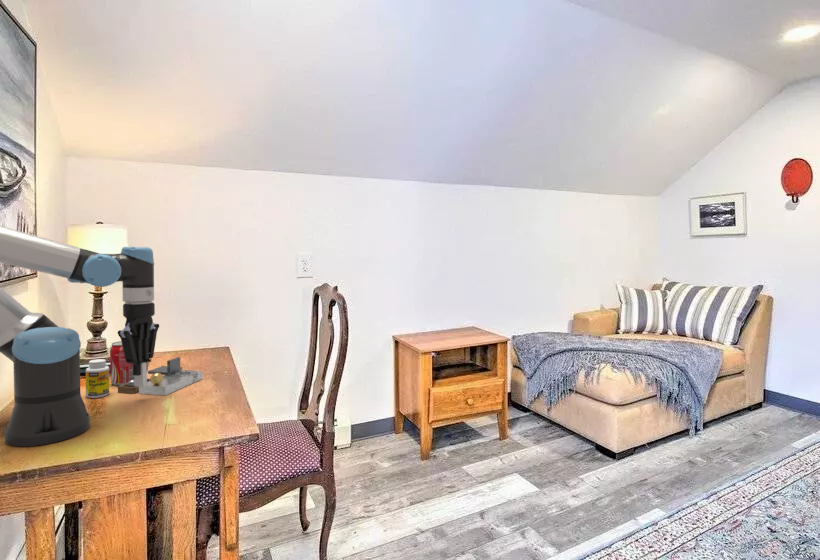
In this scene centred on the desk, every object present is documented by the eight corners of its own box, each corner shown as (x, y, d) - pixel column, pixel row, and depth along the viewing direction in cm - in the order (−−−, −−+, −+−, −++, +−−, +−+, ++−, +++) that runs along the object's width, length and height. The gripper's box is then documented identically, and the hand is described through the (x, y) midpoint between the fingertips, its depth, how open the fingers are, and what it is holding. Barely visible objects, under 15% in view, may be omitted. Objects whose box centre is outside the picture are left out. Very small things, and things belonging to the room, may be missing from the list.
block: (165, 395, 129) (165, 387, 128) (138, 393, 130) (138, 385, 130) (203, 378, 147) (202, 371, 146) (179, 376, 148) (179, 369, 148)
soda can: (142, 380, 142) (142, 340, 142) (126, 387, 135) (125, 345, 135) (122, 379, 143) (121, 339, 142) (104, 386, 136) (104, 344, 135)
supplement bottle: (85, 399, 123) (84, 363, 123) (86, 394, 128) (86, 359, 127) (109, 396, 126) (109, 361, 126) (109, 391, 131) (109, 357, 130)
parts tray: (134, 393, 129) (134, 387, 129) (117, 392, 130) (117, 386, 130) (156, 385, 138) (156, 379, 138) (140, 383, 139) (140, 378, 139)
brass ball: (158, 386, 129) (157, 374, 129) (147, 385, 130) (147, 374, 129) (165, 382, 132) (165, 371, 132) (155, 382, 133) (155, 371, 133)
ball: (133, 391, 130) (133, 381, 130) (124, 390, 131) (124, 380, 131) (140, 388, 133) (140, 378, 133) (131, 387, 134) (131, 377, 134)
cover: (168, 375, 140) (167, 361, 139) (147, 373, 141) (147, 360, 140) (182, 369, 147) (182, 356, 146) (163, 368, 148) (163, 355, 147)
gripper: (133, 305, 116) (135, 393, 117) (167, 300, 129) (168, 379, 130) (107, 304, 117) (109, 392, 118) (144, 299, 130) (145, 378, 131)
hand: (140, 385), depth 124 cm, fingers closed
